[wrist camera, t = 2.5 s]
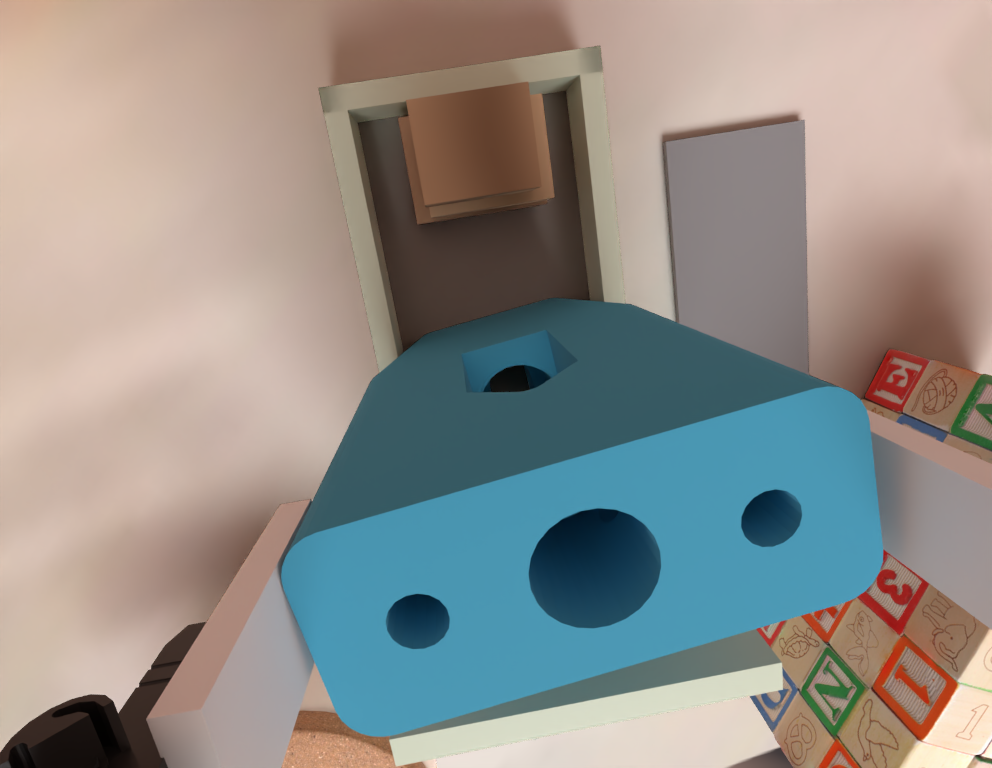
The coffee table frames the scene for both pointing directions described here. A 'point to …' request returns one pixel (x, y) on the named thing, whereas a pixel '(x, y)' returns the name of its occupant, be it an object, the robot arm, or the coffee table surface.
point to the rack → (694, 671)
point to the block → (572, 511)
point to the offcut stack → (476, 152)
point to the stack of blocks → (893, 625)
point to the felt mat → (742, 238)
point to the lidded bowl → (334, 738)
